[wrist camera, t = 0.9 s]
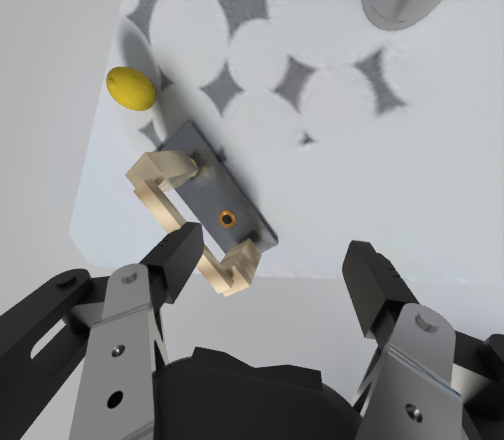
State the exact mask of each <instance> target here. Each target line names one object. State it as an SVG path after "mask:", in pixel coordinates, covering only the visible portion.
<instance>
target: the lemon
mask: <svg viewBox="0 0 504 440" xmlns="http://www.w3.org/2000/svg"><path fill="white" fill-rule="evenodd" d="M106 83H107V88H108V91H109V93H110V94H111V96H112V97H113V98H114V99H115V100H116V101H117V102H118V103H119V104H121V105H123V106H124V107H126V108H128V109H132V110H136V111H144V110H147V109H149V108H151V107H152V106H153V104H154V102H155V90H154V87H153V85H152V84H151V82H150V81H149V80H148V78H147V77H146V76H144V75H143V74H142V73H140V72H139V71H137V70H134V69H132V68H128V67H116V68H113V69H112V70H110V71H109V73H108V75H107V78H106Z"/></svg>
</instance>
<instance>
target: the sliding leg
mask: <svg viewBox="0 0 504 440" xmlns="http://www.w3.org/2000/svg"><path fill="white" fill-rule="evenodd" d="M133 192H134V193H135V194H136V195H137V197H138V198H139V199H140V200H141V201H142V203H143V204H144V205H145V206H146V207H147V209H148V210H149V211H150V212H151V213H152V215H153V216H154V217H155V218H156V219H157V221H158V222H159V223H160V224H161V225H162V227H163V228H164V229H165V230H166V231H167V233H168V234H169V233H171V232H172V231H174V230H176V229H180V228H181V227H182V226H183V225H184V224H185V223H186V220H185V219H184V218H183V217H182V215H181V214H180V213H179V212H178V210H177V209H176V208H175V207H174V205H173V204H172V203H171V202H170V200H169V199H168V198H167V197H166V195H165V194H164V193H163V192H162V190H161V189H160V188H159V187H158V185H157V184H156V183H155V182H154V180H153V179H149V180H144V181H143V182H142V183H141V184H140V185H139V186H138V187H137V188H136V189H135V190H134V191H133ZM261 255H262V254H261V253H260V251H259V250H258V249H257V247H256V246H255V245H254V243H253V242H252V241H251V239H250V238H249V239H247V240H245V241H243V242H242V243H240V244H238V245H236V246H235V247H233V248H231V249H230V250H229V251H228V253H227V254H226V255H225V257H224V258H223V260H222V261H221V263H219V262H218V260H217V259H216V258H215V257H214V255H213V254H212V253H211V252H210V250H209V249H208V248H207V247H206V245H205V244H204V252H203V255H202V257H201V259H200V260H199V262H198V264H197V265H196V267H197V269H198V270H199V271H200V272H201V273H202V275H203V276H204V277H205V278H206V279H207V281H208V282H209V283H210V284H211V285H212V287H213V288H214V289H215V290H216V291H217V293H218V294H219V293H223V294H224V295H225V296H229V295H231V294H233V293H235V292H237V291H240V290H242V289H244V288H247V287H249V286H250V285H251V282H252V279H253V277H254V274H255V271H256V269H257V266H258V263H259V261H260V258H261Z"/></svg>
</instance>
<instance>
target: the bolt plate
mask: <svg viewBox="0 0 504 440" xmlns="http://www.w3.org/2000/svg"><path fill="white" fill-rule="evenodd" d="M125 176H126V177H127V178H128V179H129V181H130V182H131V183H132V184H133V185H134V187H135V188H137V187H138V186H139V185H140V184H141V183H142V182H143V181H144V180H149V179H153V180H154V182H155V183H156V184H157V185H158V187H159V188H160V189H161V190H162V192H165V191H168V190H171V189H175V190H176V192H177V193H178V194H179V195H180V197H181V198H182V199H183V200H184V202H185V203H186V204H187V206H188V207H189V208H190V209H191V211H192V212H193V213H194V214H195V216H196V217H197V218H198V220H199V221H200V222H201V223H202V225H203V226H204V227H205V228H206V230H207V231H208V232H209V234H210V235H211V236H212V237H213V239H214V240H215V241H216V242H217V244H218V245H219V246H220V248H221V249H222V250H223V251H224V253H225V254H227V253H228V251H229V250H230V249H231V248H233V247H235V246H236V245H238V244H240V243H242V242H243V241H245V240H247V239H249V238H250V239H251V241H252V242H253V243H254V245H255V246H256V247H257V249H258V250H259V251H260V253H263V252H264V251H266V250H268V249H270V248H272V247H274V246H276V245H278V240H277V239H276V238H275V236H274V235H273V233H272V232H271V231H270V229H269V228H268V226H267V225H266V224H265V222H264V221H263V219H262V218H261V217H260V215H259V214H258V212H257V211H256V210H255V208H254V207H253V205H252V204H251V203H250V201H249V200H248V198H247V197H246V196H245V194H244V193H243V191H242V190H241V189H240V187H239V186H238V184H237V183H236V182H235V180H234V179H233V177H232V176H231V175H230V173H229V172H228V170H227V169H226V168H225V166H224V165H223V163H222V162H221V161H220V159H219V158H218V156H217V155H216V154H215V152H214V151H213V149H212V148H211V147H210V145H209V144H208V142H207V141H206V140H205V138H204V137H203V135H202V134H201V133H200V131H199V130H198V128H197V127H196V126H195V124H194V123H193V121H188V122H187V123H186V124H185V125H184V126H183V127H182V128H181V129H180V130H179V131H178V132H177V134H176V135H175V136H174V137H173V138H172V139H171V140H170V141H169V142H168V143H167V144H166V145H165V146H164V148H163V149H162V150H161V151H160V152H145V153H144V154H143V155H142V156H141V158H140V159H139V160H138V161H137V162H136V163H135V164H134V165H133V167H132V168H131V169H130V170H129V171H128V172H127V173H126V175H125Z"/></svg>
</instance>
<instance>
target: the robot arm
mask: <svg viewBox="0 0 504 440" xmlns="http://www.w3.org/2000/svg"><path fill="white" fill-rule="evenodd" d="M441 1H442V0H362V5H363V9H364V12H365V14H366V16H367V18H368V19H369V20H370V22H371V23H372V24H373V25H375V26H376V27H378V28H380V29H384V30H400V29H404V28H407V27H409V26H411V25H413V24H416V23H417V22H419V21H420V20H421V19H423V18H424V17H426V16H427V15H428V14H429V13H430V12H431V11H432V10H433V9H434V8H435V7H436V6H437V5H438V4H439V3H440V2H441ZM203 252H204V241H203V232H202V225H201V224H200V223H195V222H186V223H185V224H184V225H183V226H182V227H181V228H180V229H176V230H174V231H172V232H171V233H169V234H167V235H166V236H165V237H164V238H163V239H162V241H160V242H159V243H158V244H157V246H155V247H154V248H153V249H152V250H151V251H150V252H149V253H148V254H147V255H146V256H145V257H144V258H143V259H142V260H141V261H140V263H139V264H130V265H126V266H124V267H121V268H119V269H118V270H116V271H115V272H114V273H113V274H112V275H111V276H107V277H98V278H91V276H90V274H89V272H88V271H87V270H85V269H73V270H69V271H65V272H63V273H61V274H59V275H56V276H55V277H53V278H51V279H50V280H49V281H47V282H46V283H45V284H43V285H42V286H41V287H39V288H38V289H37V290H35V291H34V292H33V293H31V294H30V295H28V296H27V297H26V298H24V299H23V300H22V301H20V302H19V303H18V304H16V305H15V306H14V307H12V308H11V309H9V310H8V311H7V312H5V313H4V314H3V315H1V316H0V440H20V439H21V437H22V436H23V435H24V434H25V432H26V431H27V430H28V428H29V427H30V426H31V425H32V423H33V422H34V421H35V419H36V418H37V417H38V416H39V414H40V413H41V412H42V410H43V409H44V408H45V407H46V405H47V404H48V403H49V402H50V400H51V399H52V398H53V396H54V395H55V394H56V393H57V391H58V390H59V389H60V387H61V386H62V385H63V384H64V382H65V381H66V380H67V378H68V377H69V376H70V375H71V373H72V372H73V371H74V369H75V368H76V367H77V365H78V364H79V363H80V362H81V360H82V359H83V358H84V357H85V361H84V366H83V371H82V376H81V381H80V386H79V391H78V396H77V401H76V406H75V411H74V416H73V421H72V426H71V431H70V436H69V440H461V425H462V427H463V429H464V430H465V432H466V434H467V436H468V438H469V440H504V335H503V334H493V335H491V336H490V337H489V338H487V339H486V340H485V341H482V340H479V339H476V338H474V337H471V336H468V335H466V334H463V333H461V332H458V331H455V330H454V329H453V327H452V326H451V325H450V323H449V322H448V321H447V320H446V319H445V318H443V317H442V316H441V315H440V314H438V313H437V312H435V311H434V310H432V309H430V308H428V307H426V306H423V305H420V304H419V302H418V301H417V299H416V298H415V296H414V295H413V294H412V292H411V291H410V289H409V288H408V287H407V285H406V284H405V282H404V281H403V279H402V278H400V277H401V276H400V275H399V274H398V272H397V271H395V270H396V269H395V268H394V266H393V265H392V264H391V262H390V261H389V260H388V259H387V258H385V257H384V256H383V255H382V254H380V253H376V251H375V250H374V248H373V246H372V245H371V244H370V243H369V242H364V241H355V240H352V241H351V242H350V245H349V248H348V250H347V253H346V256H345V259H344V262H343V266H342V273H343V277H344V280H345V283H346V286H347V288H348V291H349V294H350V297H351V300H352V303H353V306H354V309H355V311H356V314H357V317H358V320H359V323H360V326H361V329H362V332H363V334H364V338H370V339H376V341H377V343H378V347H377V349H376V350H375V352H374V355H373V357H372V359H371V362H370V364H369V366H368V368H367V370H366V373H365V375H364V377H363V380H362V382H361V384H360V386H359V388H358V390H357V392H356V394H355V396H354V397H353V399H352V401H351V403H350V404H349V403H348V402H347V401H346V400H345V399H344V398H343V397H342V396H341V395H340V394H338V393H337V392H336V391H335V390H333V389H332V388H330V387H329V386H327V385H326V384H324V383H322V379H321V371H318V370H313V369H308V368H303V367H298V366H292V365H279V366H269V367H260V368H254V367H251V366H249V365H248V364H246V363H244V362H242V361H240V360H238V359H236V358H234V357H233V356H231V355H229V354H227V353H225V352H221V351H216V350H211V349H206V348H201V347H195V349H194V352H193V355H192V356H191V357H186V358H182V359H179V360H176V361H173V362H171V363H169V360H168V356H167V351H166V345H165V338H164V330H163V322H162V315H161V310H160V308H161V306H162V305H163V304H164V303H168V304H174V302H175V300H176V299H177V297H178V295H179V294H180V292H181V290H182V289H183V287H184V285H185V283H186V282H187V280H188V279H189V277H190V275H191V274H192V272H193V270H194V269H195V267H196V265H197V264H198V262H199V260H200V259H201V257H202V255H203ZM60 319H62V320H63V321H64V323H65V324H66V325H65V326H64V328H62V329H61V330H60V331H59V332H58V333H57V334H56V335H55V336H54V338H53V339H52V340H51V341H50V342H49V343H48V344H47V345H46V346H45V347H44V348H43V349H42V350H41V351H40V352H39V353H38V354H37V355H36V356H35V357H34V358H33V359H31V357H30V356H31V350H32V349H33V347H34V345H35V344H36V343H37V342H38V341H39V340H40V339H41V338H42V337H43V336H44V335H45V334H46V333H47V332H48V331H49V330H50V329H51V328H52V327H53V326H54V325H55V324H56V323H57V322H58V321H59V320H60ZM85 355H86V356H85Z"/></svg>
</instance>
